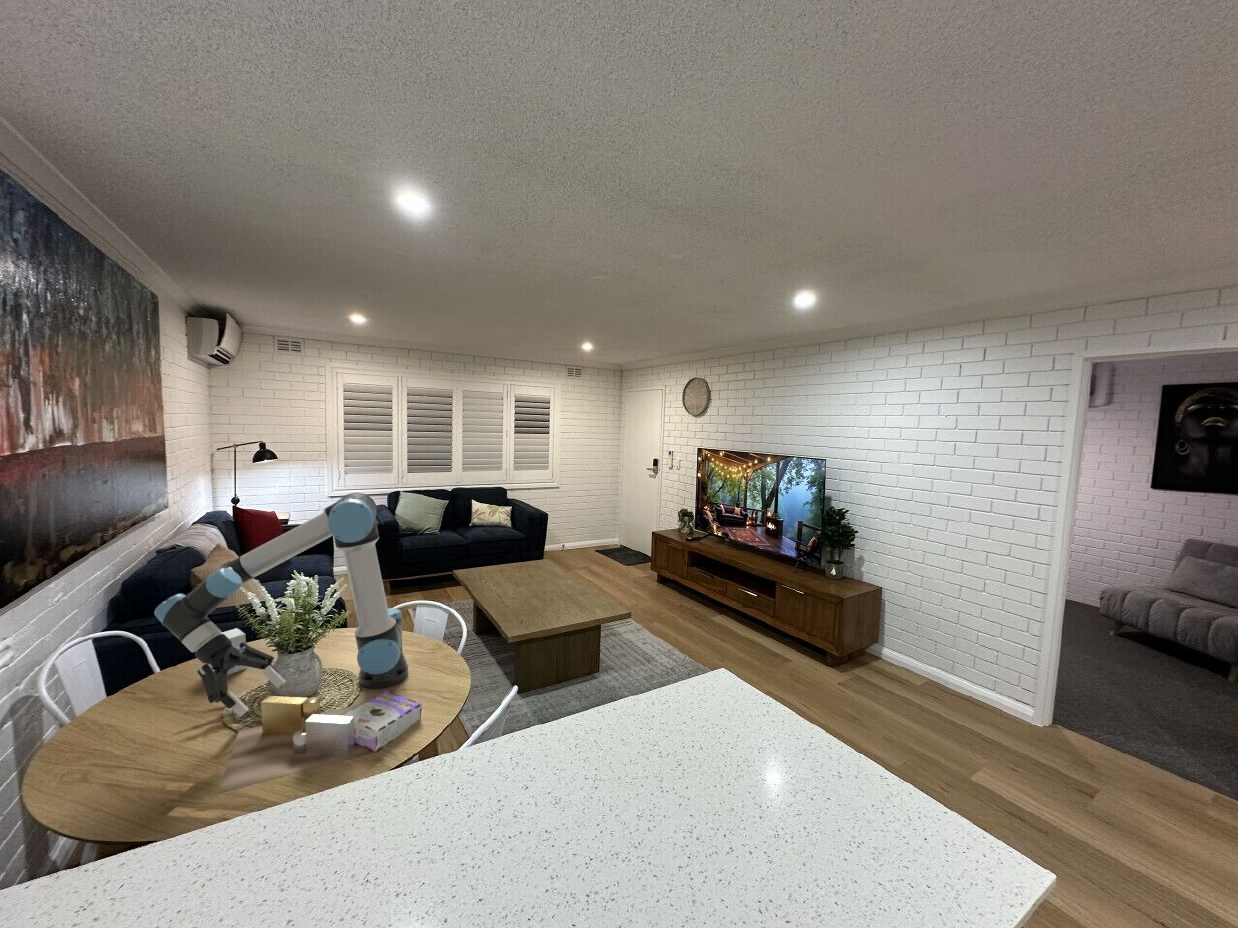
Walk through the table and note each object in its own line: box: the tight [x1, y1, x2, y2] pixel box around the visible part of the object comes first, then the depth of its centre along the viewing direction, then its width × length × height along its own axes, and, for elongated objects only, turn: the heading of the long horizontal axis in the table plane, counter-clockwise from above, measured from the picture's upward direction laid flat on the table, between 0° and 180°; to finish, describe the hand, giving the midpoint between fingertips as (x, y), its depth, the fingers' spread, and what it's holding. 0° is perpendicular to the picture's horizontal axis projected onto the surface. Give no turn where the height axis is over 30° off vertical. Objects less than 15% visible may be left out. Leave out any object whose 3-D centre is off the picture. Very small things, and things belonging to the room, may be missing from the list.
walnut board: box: [217, 703, 373, 794], centre depth 134 cm, size 25×32×1 cm
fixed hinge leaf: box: [293, 714, 355, 756], centre depth 131 cm, size 4×15×9 cm, turn 88°
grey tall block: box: [220, 627, 248, 676], centre depth 170 cm, size 7×7×13 cm
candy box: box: [342, 690, 423, 752], centre depth 141 cm, size 14×6×16 cm
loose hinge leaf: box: [260, 695, 321, 735], centre depth 138 cm, size 4×15×9 cm, turn 88°
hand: (264, 698), depth 137 cm, fingers open, 13 cm apart
